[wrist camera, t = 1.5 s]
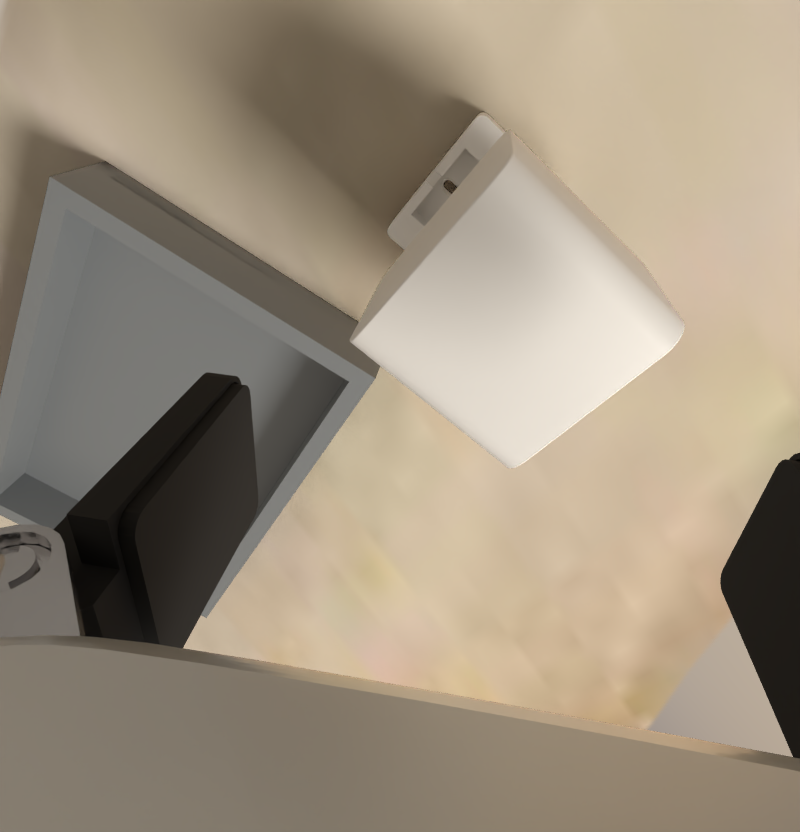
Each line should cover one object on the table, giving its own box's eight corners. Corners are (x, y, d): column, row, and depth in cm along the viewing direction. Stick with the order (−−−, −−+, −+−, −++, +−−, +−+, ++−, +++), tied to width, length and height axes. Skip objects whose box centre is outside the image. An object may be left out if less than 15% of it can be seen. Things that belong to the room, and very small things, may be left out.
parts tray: (105, 161, 24) (49, 176, 21) (389, 341, 26) (375, 378, 23) (21, 464, 34) (-24, 502, 31) (229, 572, 37) (206, 617, 34)
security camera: (504, 338, 25) (506, 479, 17) (383, 232, 24) (318, 330, 15) (621, 229, 22) (694, 336, 14) (490, 98, 20) (484, 128, 12)
